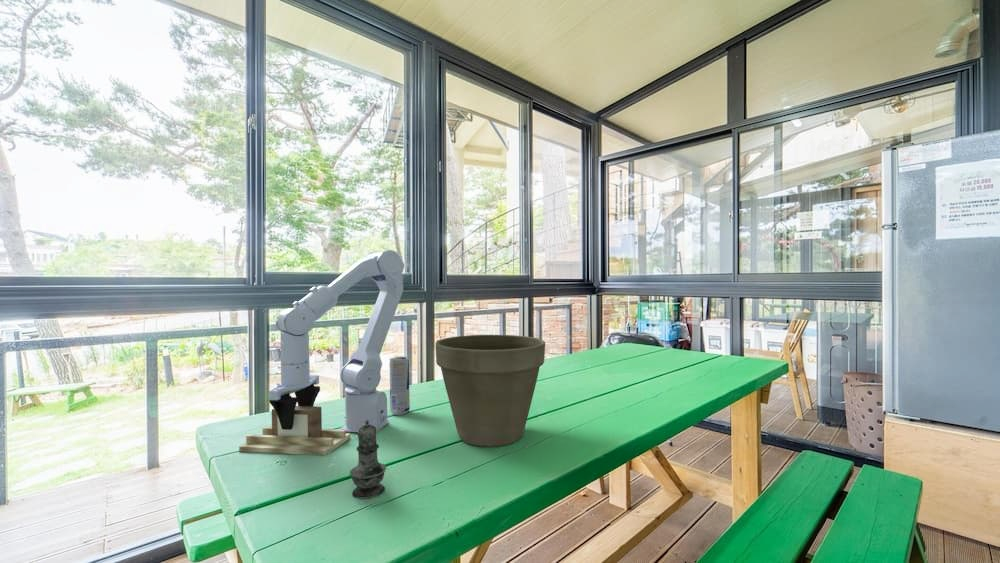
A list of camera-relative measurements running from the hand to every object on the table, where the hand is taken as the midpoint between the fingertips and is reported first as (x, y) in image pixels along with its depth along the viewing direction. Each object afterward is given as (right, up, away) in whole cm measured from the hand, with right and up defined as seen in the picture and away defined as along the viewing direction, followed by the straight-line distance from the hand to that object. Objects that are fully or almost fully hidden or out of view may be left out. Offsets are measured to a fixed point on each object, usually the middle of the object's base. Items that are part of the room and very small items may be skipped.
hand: (296, 424), depth 93 cm
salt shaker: (+23, -4, -22) cm, 32 cm away
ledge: (0, -4, 0) cm, 4 cm away
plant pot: (+43, -4, +3) cm, 43 cm away
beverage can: (+18, -4, +21) cm, 28 cm away
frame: (0, -3, 0) cm, 3 cm away
